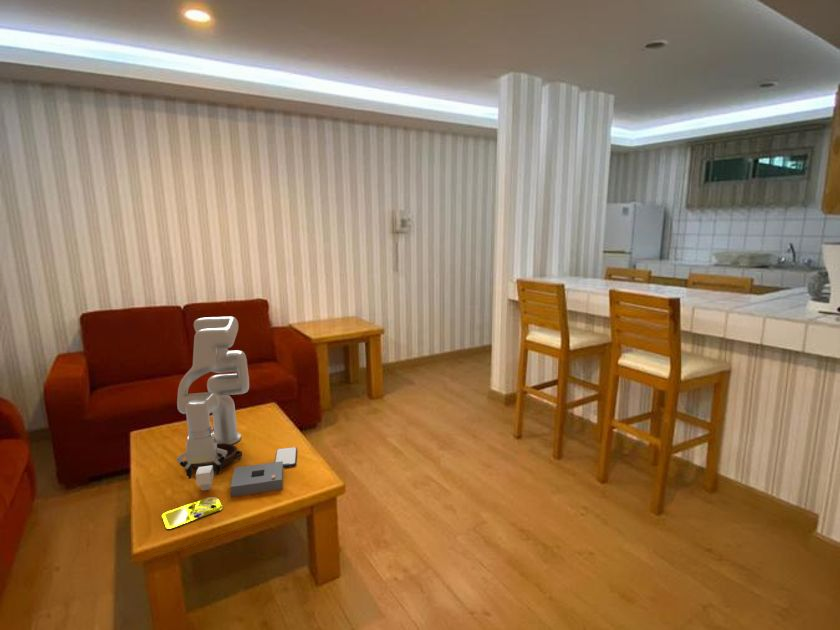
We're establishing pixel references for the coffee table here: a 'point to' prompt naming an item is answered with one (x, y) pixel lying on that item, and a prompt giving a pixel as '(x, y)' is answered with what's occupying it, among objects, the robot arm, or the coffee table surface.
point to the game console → (191, 512)
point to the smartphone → (287, 456)
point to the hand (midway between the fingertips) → (204, 475)
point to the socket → (257, 479)
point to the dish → (230, 455)
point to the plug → (204, 477)
